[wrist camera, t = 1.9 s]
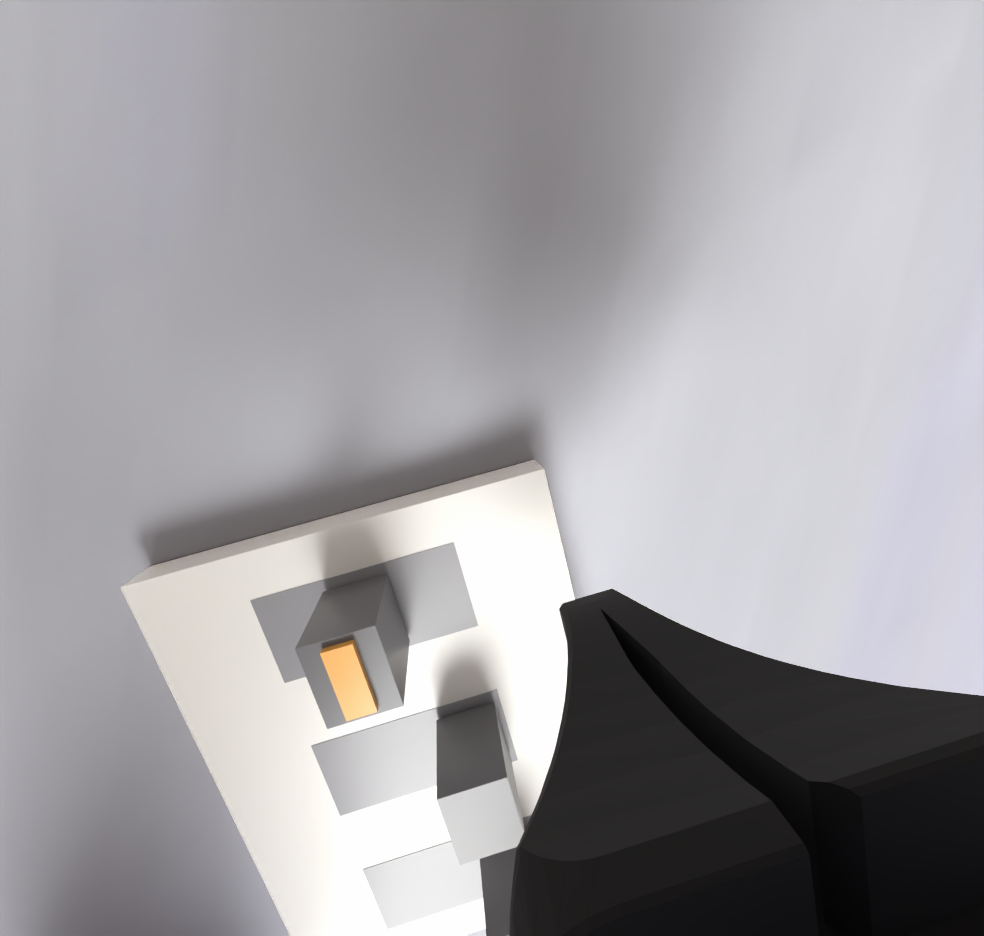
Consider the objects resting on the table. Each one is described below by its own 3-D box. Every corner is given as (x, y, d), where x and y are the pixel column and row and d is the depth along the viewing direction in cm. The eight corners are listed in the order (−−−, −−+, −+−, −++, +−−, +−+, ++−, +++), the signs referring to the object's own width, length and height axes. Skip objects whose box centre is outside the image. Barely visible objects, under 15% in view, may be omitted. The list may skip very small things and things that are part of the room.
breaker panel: (323, 938, 19) (288, 1115, 15) (150, 566, 15) (29, 651, 11) (625, 839, 20) (681, 979, 16) (534, 459, 16) (573, 496, 12)
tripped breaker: (348, 658, 15) (325, 735, 12) (323, 591, 14) (292, 653, 11) (409, 640, 15) (403, 711, 12) (387, 573, 15) (374, 630, 11)
